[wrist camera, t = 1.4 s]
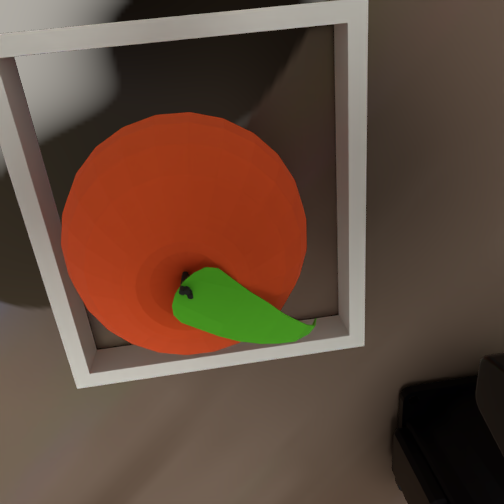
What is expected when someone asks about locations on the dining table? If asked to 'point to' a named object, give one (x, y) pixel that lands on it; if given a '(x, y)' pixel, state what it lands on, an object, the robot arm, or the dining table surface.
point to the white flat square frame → (49, 225)
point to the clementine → (186, 236)
